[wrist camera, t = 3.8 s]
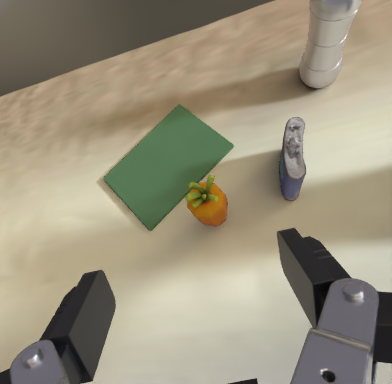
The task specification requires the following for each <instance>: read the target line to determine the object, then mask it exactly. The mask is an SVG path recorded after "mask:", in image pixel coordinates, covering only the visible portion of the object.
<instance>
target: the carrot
mask: <svg viewBox="0 0 392 384" xmlns="http://www.w3.org/2000/svg"><path fill="white" fill-rule="evenodd" d="M214 177H215V176H214V175H210V176H209V177H208V179H207V183H199V184H197V183H195V182H191V183H190V184H189V188H191V189H192V190H190V191H189V194H187V195H186V196H185V197H186V200H187V201H188V204H187V207H188V208H189V209H190V211H191V212H192V213H193V214H194V216H195V217H196V218H197V219H198V220H199V221H200V222H202V223H203V224H205V225H213V226H219V225H220V224H222V223H223V222H224V221H225V220H226V216H227V205H228V203H227V199H226V196H225V194H224V193H223V192H222V191H221V190H220V189H219V187H218V186H217V185H216V184H215V183H212V182H213V180H214Z"/></svg>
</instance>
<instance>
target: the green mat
mask: <svg viewBox="0 0 392 384" xmlns="http://www.w3.org/2000/svg"><path fill="white" fill-rule="evenodd" d="M233 147H234V146H233V144H232V143H230V142H229V141H228V140H226V139H225V138H224V137H222V136H221V135H220V134H218V133H217V132H216V131H215V130H213V129H212V128H211V127H209V126H208V125H207V124H205V123H204V122H203V121H201V120H200V119H199V118H197V117H196V116H195V115H193V114H192V113H191V112H189V111H188V110H187V109H185V108H184V107H183V106H181V105H180V104H179V105H178V106H177V107H176V108H175V109H174V110H173V111H172V112H171V113H170V114H169V115H168V116H167V117H166V118H165V119H164V120H162V121H161V122H160V123H159V124H158V125H157V126H156V127H155V128H154V129H153V130H152V131H151V132H150V133H149V134H148V135H147V136H146V137H145V138H144V139H143V140H142V141H141V142H140V143H139V144H138V145H137V146H136V147H135V148H134V149H133V150H132V151H131V152H130V153H129V154H128V155H127V156H125V157H124V158H123V159H122V160H121V161H120V162H119V163H118V164H117V165H116V166H115V167H114V168H113V169H112V170H111V171H110V172H109V173H108V174H107V175H106V176H105V177H104V178H103V179H104V180H105V182H106V183H107V184H108V185H109V186H110V187H111V188H112V189H113V190H114V192H115V193H116V194H117V195H118V196H119V197H120V198H121V199H122V200H123V201H124V203H125V204H126V205H127V206H128V207H129V208H130V209H131V210H132V211H133V213H134V214H135V215H136V216H137V217H138V218H139V219H140V220H141V221H142V222H143V224H144V225H145V226H146V227H147V228H148V229H149V230H150V231H151V230H152V229H153V228H154V227H155V226H156V225H157V224H158V223H159V222H160V221H161V220H162V219H163V218H164V217H165V216H166V215H167V214H168V213H169V212H170V211H171V210H172V209H173V208H174V207H175V206H176V205H177V204H178V203H179V202H180V201H181V200H182V199H183V198H184V197H185V196H186V195H187V194H188V193H189V191H190V190H192V189H191V188H189V184H190V183H191V182H195V183H197V184H198V183H199V182H200V181H201V180H202V179H203V178H204V177H205V176H206V175H207V174H208V172H209V171H210V170H211V169H212V168H213V167H214V166H215V165H216V164H217V163H218V162H219V161H220V160H221V159H222V158H223V157H224V156H225V155H226V154H227V153H228V152H229V151H230V150H231V149H232V148H233Z"/></svg>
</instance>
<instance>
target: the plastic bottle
mask: <svg viewBox="0 0 392 384" xmlns="http://www.w3.org/2000/svg"><path fill="white" fill-rule="evenodd" d="M361 3H362V0H310V23H309V33H308V40H307V44H306V48H305V52H304V54H303V56H302V59H301V62H300V66H299V71H300V77H301V79H302V81H303V82H304V83H305V84H306V85H308V86H310V87H313V88H322V87H325V86H327V85H329V84H331V83H332V82H333V81H334V80H335V79H336V77H337V76H338V74H339V72H340V70H341V65H342V53H343V49H344V44H345V40H346V37H347V34H348V32H349V29H350V26H351V24H352V21H353V19H354V17H355V15H356V13H357V11H358V9H359V7H360V5H361Z"/></svg>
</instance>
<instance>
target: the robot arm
mask: <svg viewBox="0 0 392 384" xmlns="http://www.w3.org/2000/svg"><path fill="white" fill-rule="evenodd" d="M277 238H278V245H279V253H280V260H281V265H282V268H283V271H284V274H285V276H286V278H287V280H288V281H289V283H290V285H291V287H292V289H293V291H294V293H295V295H296V297H297V298H298V300H299V302H300V304H301V306H302V308H303V310H304V312H305V314H306V315H307V317H308V319H309V321H310V323H311V325H312V327H313V328H311V329H310V330H309V332H308V334H307V337H306V340H305V343H304V346H303V349H302V351H301V354H300V357H299V360H298V363H297V366H296V368H295V371H294V374H293V377H292V380H291V383H290V384H376V375H377V366H378V362H384V363H392V293H390V292H378V291H376V289H375V288H374V287H373V286H372V285H370V284H368V283H367V282H365V281H362V280H358V279H353V278H351V277H350V276H349V274H348V273H347V272H346V271H345V270H344V269H343V267H342V266H341V265H340V264H339V263H338V262H337V261H336V259H335V258H334V257H332V255H331V254H330V253H329V251H328V250H326V248H325V247H324V246H323V244H322V243H321V242H320V241H318V240H316V239H314V238H312V237H310V236H309V237H304V238H302V237H301V235H300V234H299V233H298V231H297V230H296V229H295V228H291V229H286V230H282V231H278V232H277ZM115 306H116V304H115V297H114V295H113V292H112V290H111V287H110V285H109V283H108V280H107V278H106V275H105V273H104V272H103V271H102V270H98V271H93V272H88V273H85V274H83V276H82V278H81V280H80V281H79V283H78V285H77V286H76V287H74V288H73V289H72V290H71V291H70V292H69V293H68V294H67V295H66V296H65V297H64V299H63V300H62V302H61V304H60V307H58V309H57V311H56V313H55V315H54V316H53V318H52V319H51V321H50V323H49V325H48V326H47V328H46V330H45V332H44V333H43V335H42V337H41V338H40V340H39V341H38V342H35V343H33V344H31V345H30V346H28V347H27V348H25V349H24V350H23V351H22V352H21V353H20V354H19V355H18V356H17V357H16V358H15V359H14V361H13V362H12V364H11V367H10V369H7V370H5V371H3V372H1V373H0V384H81V383H86V382H91V381H93V378H94V375H95V372H96V369H97V366H98V362H99V359H100V356H101V353H102V350H103V347H104V344H105V340H106V337H107V334H108V331H109V328H110V325H111V321H112V318H113V315H114V312H115ZM229 384H258V382H257V378H255V379H250V380H245V381H240V382H234V383H229Z"/></svg>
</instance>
